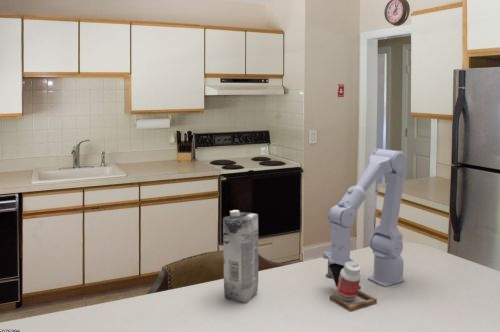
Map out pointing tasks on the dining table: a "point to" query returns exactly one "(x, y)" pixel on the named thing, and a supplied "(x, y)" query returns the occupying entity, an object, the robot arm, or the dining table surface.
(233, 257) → the juice carton
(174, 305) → the dining table surface
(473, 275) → the dining table surface
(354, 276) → the pill bottle
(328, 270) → the slate screen
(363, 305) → the walnut bracket
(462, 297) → the dining table surface
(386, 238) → the robot arm
